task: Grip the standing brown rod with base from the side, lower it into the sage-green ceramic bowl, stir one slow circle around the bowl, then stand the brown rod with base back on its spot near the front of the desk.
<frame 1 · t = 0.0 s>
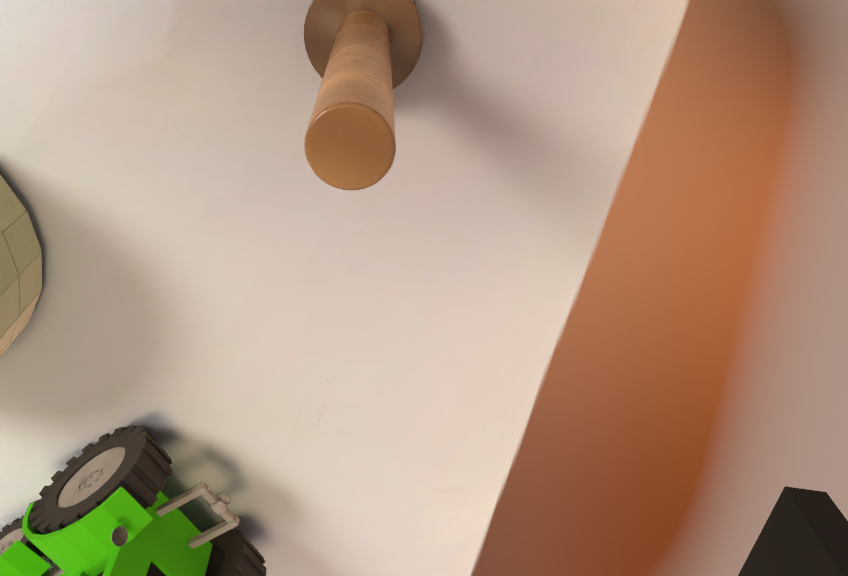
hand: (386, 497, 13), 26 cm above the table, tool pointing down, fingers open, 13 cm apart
brown rod with base: (364, 31, 35), on the table
toy tractor: (126, 516, 47), on the table
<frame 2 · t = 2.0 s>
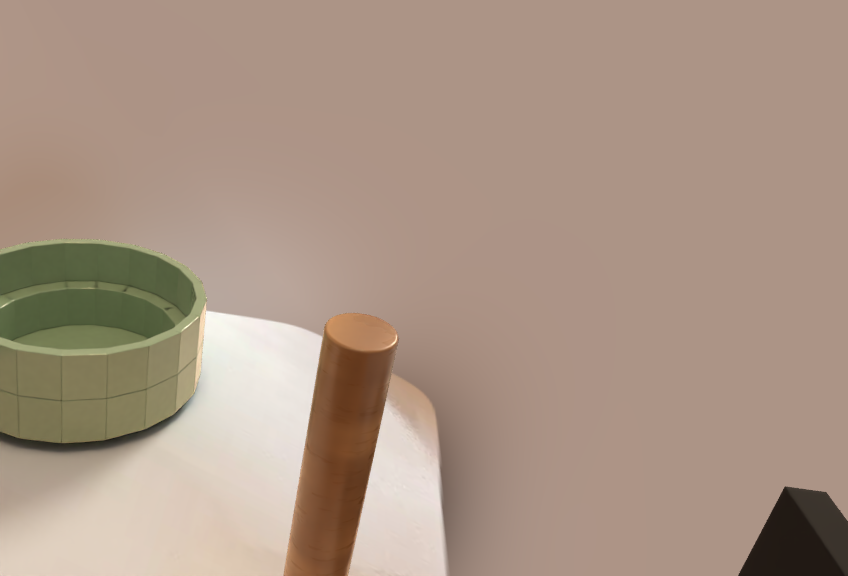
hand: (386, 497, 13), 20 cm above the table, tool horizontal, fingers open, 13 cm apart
bowl: (82, 378, 46), on the table
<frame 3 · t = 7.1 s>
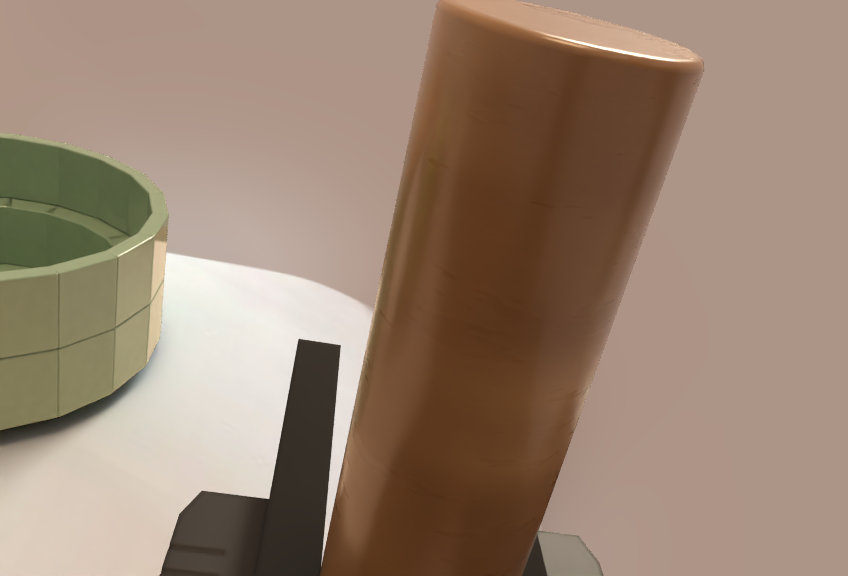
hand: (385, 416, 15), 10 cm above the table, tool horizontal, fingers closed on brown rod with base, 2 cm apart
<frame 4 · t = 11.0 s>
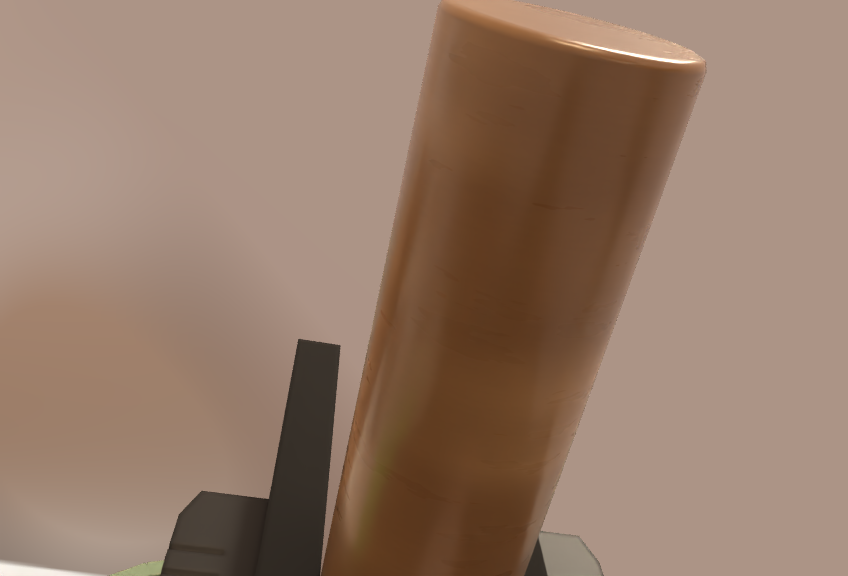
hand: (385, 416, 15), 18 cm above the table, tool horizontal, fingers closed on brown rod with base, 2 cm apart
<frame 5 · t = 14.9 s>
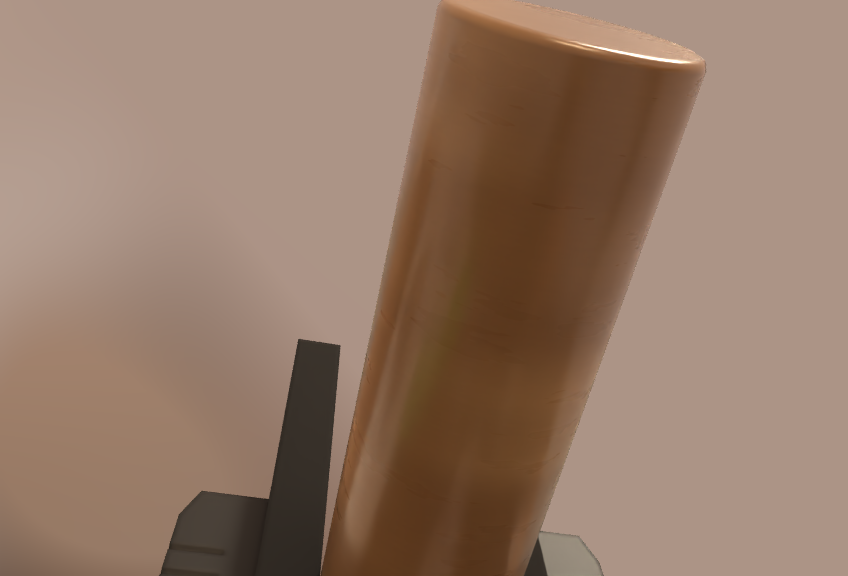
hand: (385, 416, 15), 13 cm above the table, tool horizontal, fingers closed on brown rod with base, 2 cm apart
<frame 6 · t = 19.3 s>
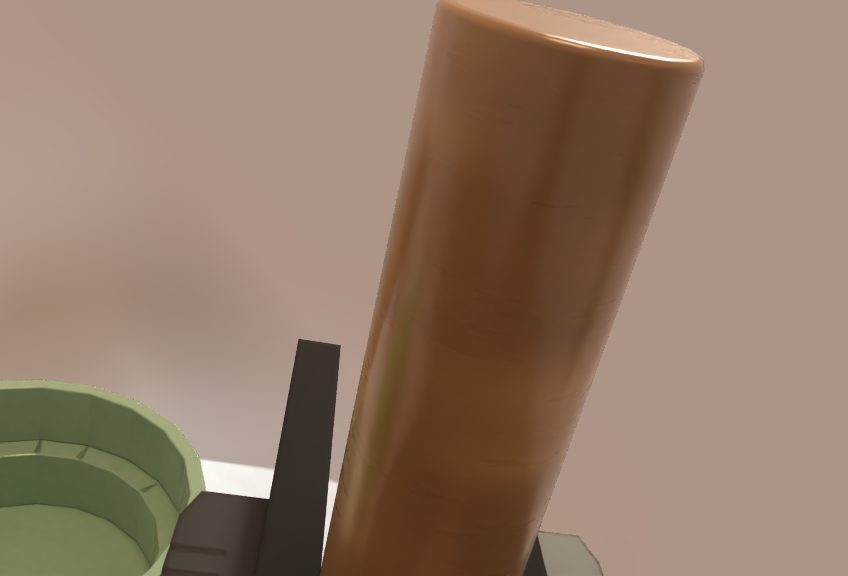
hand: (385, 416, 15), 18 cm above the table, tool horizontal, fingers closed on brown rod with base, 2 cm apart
when the fingers open (9 cm above the table, at t = 22.6 s): brown rod with base stays where it is, on the table.
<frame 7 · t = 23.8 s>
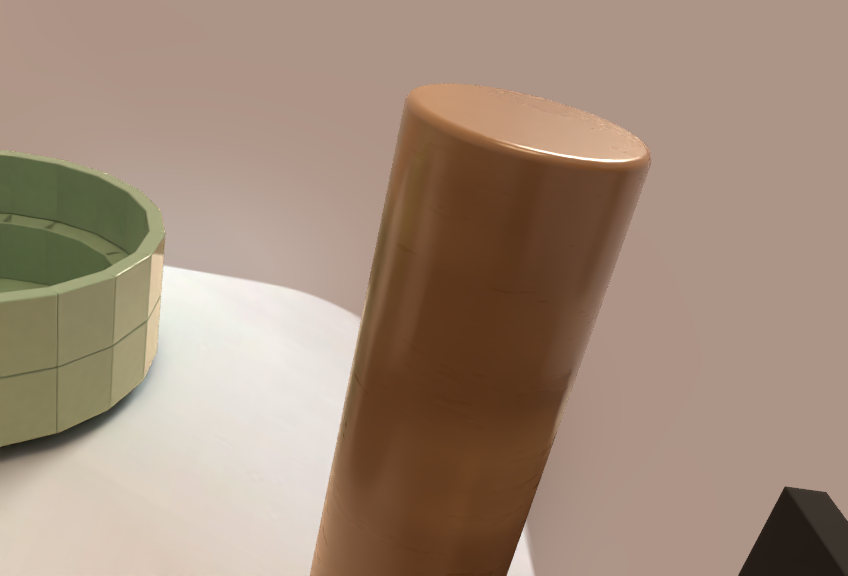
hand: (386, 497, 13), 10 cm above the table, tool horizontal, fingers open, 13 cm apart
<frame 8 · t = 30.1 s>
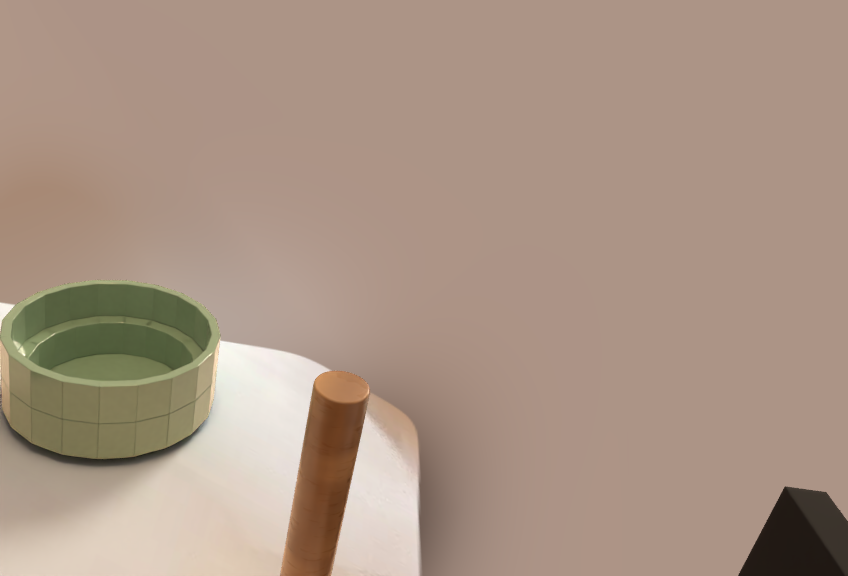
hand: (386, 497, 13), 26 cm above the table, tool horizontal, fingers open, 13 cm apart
bowl: (112, 402, 54), on the table
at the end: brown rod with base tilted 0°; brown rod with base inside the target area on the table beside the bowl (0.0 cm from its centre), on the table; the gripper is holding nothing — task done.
